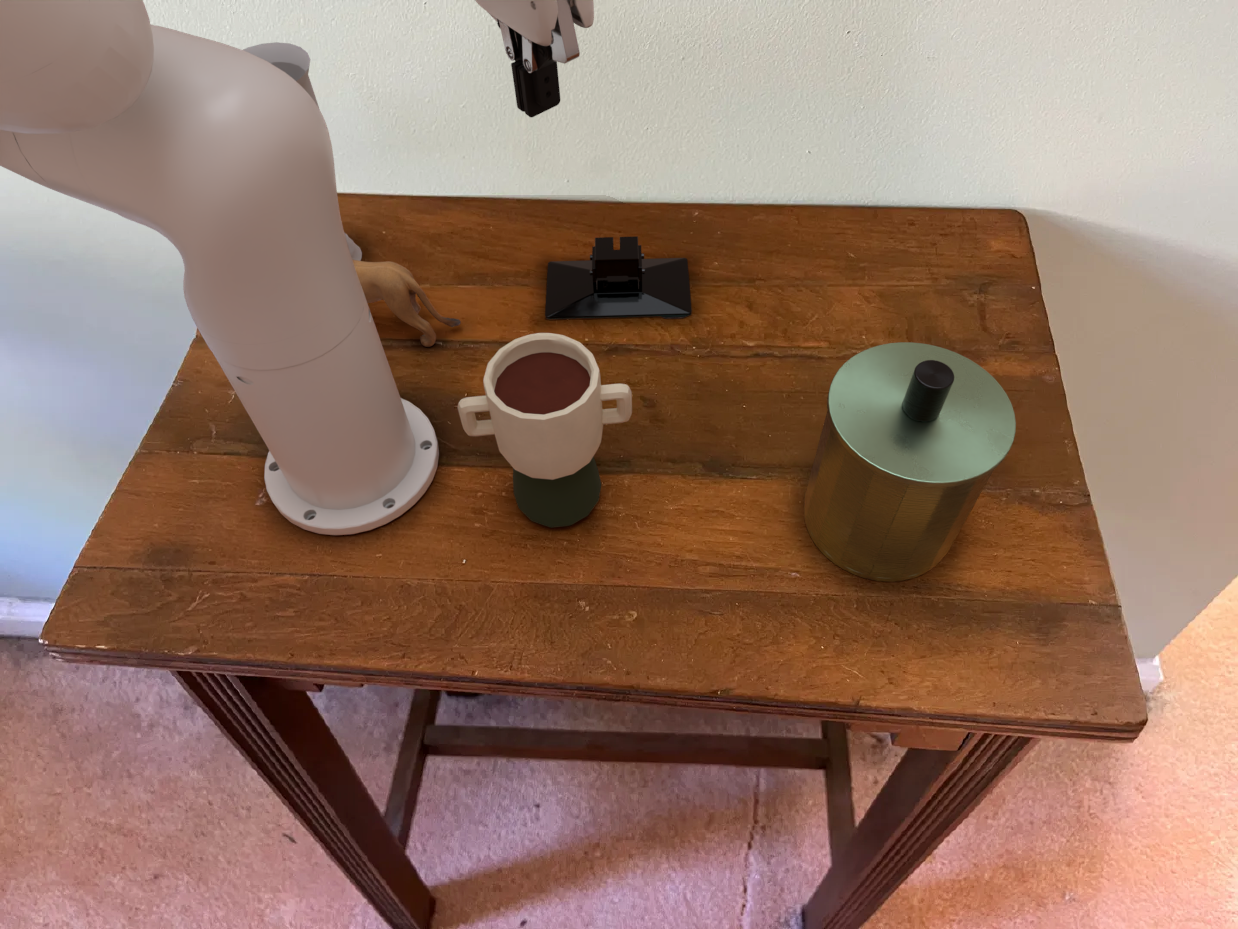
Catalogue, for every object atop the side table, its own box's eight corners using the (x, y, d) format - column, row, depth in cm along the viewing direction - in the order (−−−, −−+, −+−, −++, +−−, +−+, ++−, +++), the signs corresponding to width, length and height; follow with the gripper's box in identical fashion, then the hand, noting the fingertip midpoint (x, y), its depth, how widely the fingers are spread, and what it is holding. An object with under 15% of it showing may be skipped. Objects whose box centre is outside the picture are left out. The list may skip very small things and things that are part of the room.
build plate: (687, 261, 77) (689, 218, 74) (691, 319, 73) (695, 277, 69) (548, 264, 77) (543, 221, 74) (544, 322, 73) (540, 280, 69)
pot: (773, 510, 61) (796, 405, 52) (869, 437, 65) (907, 327, 56) (885, 610, 57) (932, 514, 47) (982, 525, 60) (1043, 420, 51)
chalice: (362, 285, 76) (296, 94, 62) (286, 285, 77) (203, 95, 62) (378, 232, 81) (320, 41, 66) (306, 232, 81) (232, 42, 66)
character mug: (628, 449, 65) (625, 324, 54) (638, 529, 61) (637, 410, 50) (482, 462, 64) (451, 339, 54) (483, 544, 60) (449, 428, 50)
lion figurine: (282, 347, 72) (241, 263, 65) (299, 302, 75) (262, 217, 68) (457, 349, 71) (435, 264, 64) (466, 304, 75) (447, 218, 67)
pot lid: (787, 411, 53) (797, 365, 49) (904, 329, 56) (920, 281, 53) (930, 527, 48) (951, 484, 44) (1047, 427, 51) (1075, 381, 48)
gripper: (628, -138, 53) (633, 129, 68) (490, -203, 60) (523, 53, 75) (529, -101, 51) (557, 168, 66) (397, -172, 57) (450, 86, 72)
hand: (539, 106), depth 70 cm, fingers closed
